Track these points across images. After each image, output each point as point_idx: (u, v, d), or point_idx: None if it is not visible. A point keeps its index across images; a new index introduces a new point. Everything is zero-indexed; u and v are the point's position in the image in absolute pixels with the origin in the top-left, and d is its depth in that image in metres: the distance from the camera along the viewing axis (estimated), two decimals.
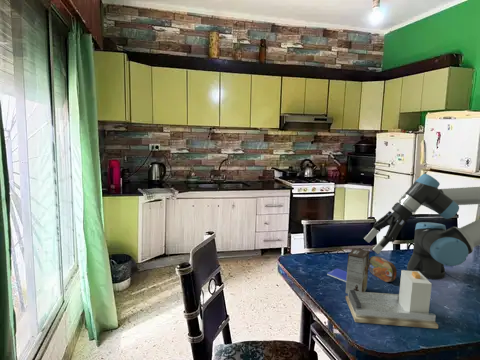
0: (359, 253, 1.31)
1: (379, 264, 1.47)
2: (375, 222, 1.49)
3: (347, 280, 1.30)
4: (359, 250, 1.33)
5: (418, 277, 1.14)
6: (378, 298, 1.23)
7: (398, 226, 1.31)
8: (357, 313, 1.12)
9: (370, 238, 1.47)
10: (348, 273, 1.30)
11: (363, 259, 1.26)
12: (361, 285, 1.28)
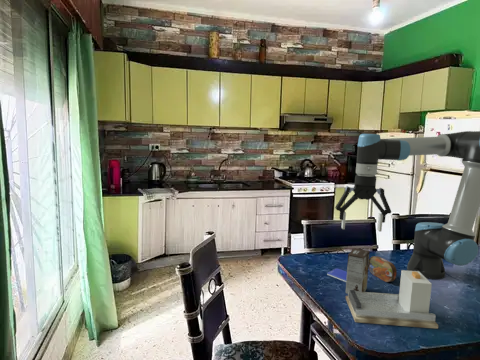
0: (359, 253, 1.31)
1: (379, 264, 1.47)
2: (337, 206, 1.29)
3: (347, 280, 1.30)
4: (359, 250, 1.34)
5: (418, 277, 1.14)
6: (378, 298, 1.23)
7: None
8: (357, 313, 1.12)
9: None
10: (348, 273, 1.30)
11: (363, 259, 1.26)
12: (361, 285, 1.28)
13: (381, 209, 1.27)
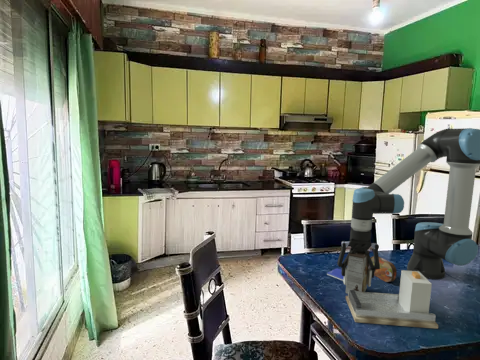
0: (359, 253, 1.31)
1: None
2: (338, 263, 1.32)
3: (347, 280, 1.30)
4: None
5: (418, 277, 1.14)
6: (378, 298, 1.23)
7: None
8: (357, 313, 1.12)
9: None
10: (348, 273, 1.30)
11: (363, 259, 1.26)
12: (361, 285, 1.28)
13: (371, 264, 1.30)
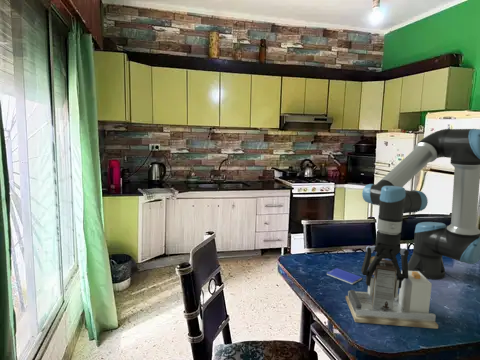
0: (387, 264, 1.15)
1: None
2: (363, 271, 1.16)
3: (375, 297, 1.14)
4: (384, 261, 1.18)
5: (418, 277, 1.14)
6: None
7: None
8: (357, 313, 1.12)
9: None
10: (376, 289, 1.13)
11: (395, 272, 1.10)
12: (392, 301, 1.12)
13: (399, 273, 1.14)
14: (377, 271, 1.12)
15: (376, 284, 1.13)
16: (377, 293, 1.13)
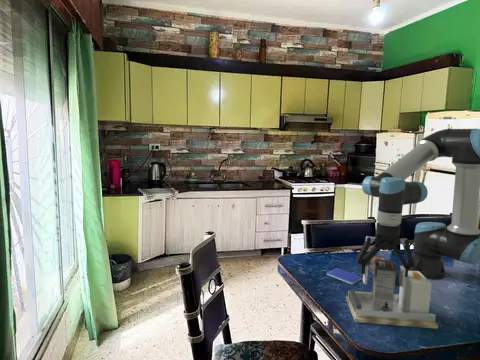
0: (386, 264, 1.15)
1: None
2: (358, 259, 1.16)
3: (375, 297, 1.14)
4: (383, 261, 1.18)
5: (418, 277, 1.14)
6: None
7: None
8: (357, 313, 1.12)
9: None
10: (376, 289, 1.13)
11: (394, 272, 1.10)
12: (392, 301, 1.12)
13: (404, 262, 1.14)
14: (377, 271, 1.12)
15: (376, 284, 1.13)
16: (377, 293, 1.13)
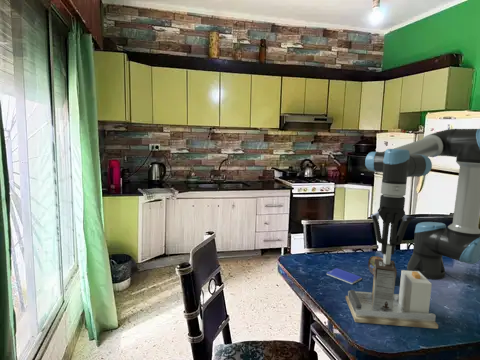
0: (386, 264, 1.15)
1: None
2: (377, 240, 1.14)
3: (375, 297, 1.14)
4: None
5: (418, 277, 1.14)
6: None
7: None
8: (357, 313, 1.12)
9: None
10: (376, 289, 1.13)
11: (394, 272, 1.10)
12: (392, 301, 1.12)
13: (393, 238, 1.13)
14: (377, 271, 1.12)
15: (376, 284, 1.13)
16: (377, 293, 1.13)
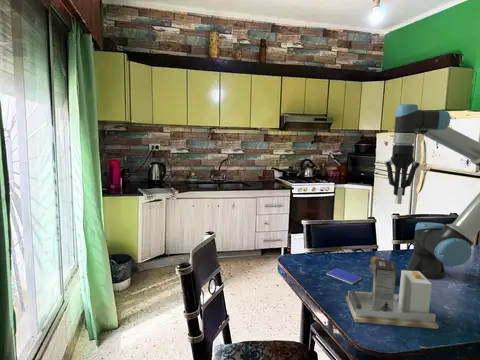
0: (386, 264, 1.15)
1: None
2: (390, 183, 1.34)
3: (375, 297, 1.14)
4: (383, 261, 1.18)
5: (418, 277, 1.14)
6: None
7: None
8: (357, 313, 1.12)
9: None
10: (376, 289, 1.13)
11: (394, 272, 1.10)
12: (392, 301, 1.12)
13: (404, 181, 1.33)
14: (377, 271, 1.12)
15: (376, 284, 1.13)
16: (377, 293, 1.13)
